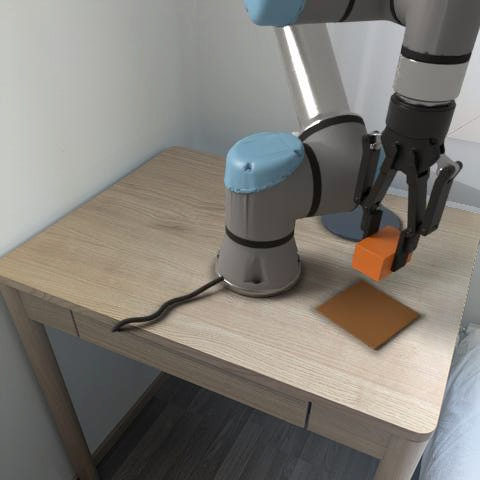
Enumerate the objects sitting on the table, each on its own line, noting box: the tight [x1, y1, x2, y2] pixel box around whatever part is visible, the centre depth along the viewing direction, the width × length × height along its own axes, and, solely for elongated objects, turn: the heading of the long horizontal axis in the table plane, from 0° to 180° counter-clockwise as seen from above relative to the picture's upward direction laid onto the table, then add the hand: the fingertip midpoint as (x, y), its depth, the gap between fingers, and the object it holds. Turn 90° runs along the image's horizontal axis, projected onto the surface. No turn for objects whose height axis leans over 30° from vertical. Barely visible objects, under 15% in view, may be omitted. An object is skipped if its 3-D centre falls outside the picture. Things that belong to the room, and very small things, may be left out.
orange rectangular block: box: [350, 225, 414, 283], centre depth 72 cm, size 8×5×4 cm, turn 131°
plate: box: [320, 205, 401, 243], centre depth 102 cm, size 16×16×1 cm
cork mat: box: [315, 279, 421, 351], centre depth 80 cm, size 12×12×1 cm
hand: (381, 258), depth 73 cm, fingers closed on orange rectangular block, 5 cm apart
